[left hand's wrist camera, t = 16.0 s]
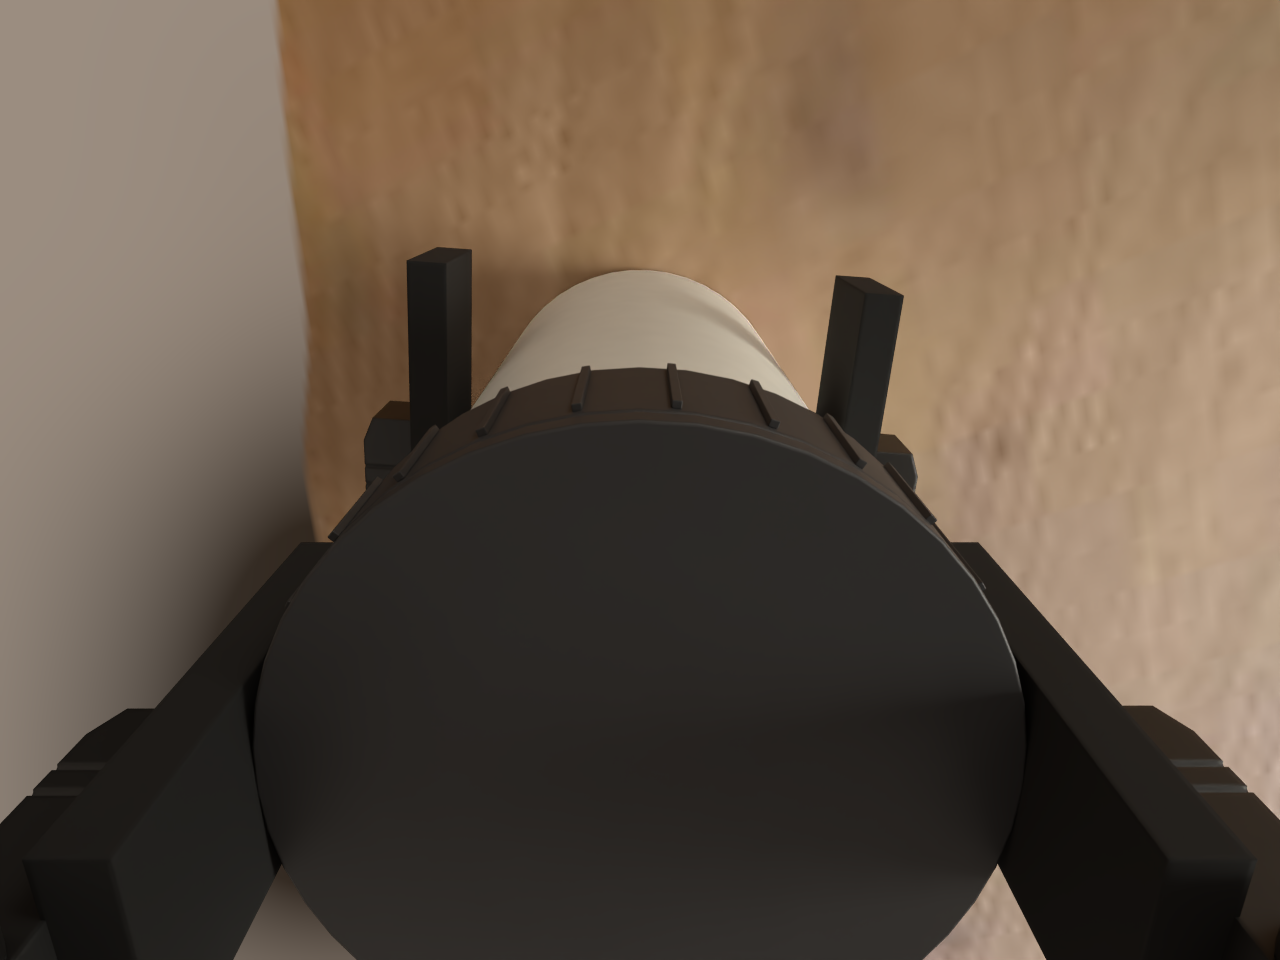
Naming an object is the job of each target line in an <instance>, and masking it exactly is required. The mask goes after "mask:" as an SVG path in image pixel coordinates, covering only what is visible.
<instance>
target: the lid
mask: <svg viewBox="0 0 1280 960" xmlns="http://www.w3.org/2000/svg"><path fill="white" fill-rule="evenodd" d="M936 521H937V519H936V518H935V517H934V516H933V514H932V513H931V512H930V511H929V509H928V508H927V507H926V506H925V505H924V503H923V502H922V501H921V500H920V498H919V497H918V496H917V495H916V494H915V492H914V491H913V490H912V489H911V488H910V486H909V485H908V484H907V483H906V481H905V480H904V479H903V478H902V477H901V475H900V474H899V473H898V472H897V471H896V469H895V468H894V467H893V466H892V465H891V464H890V463H889V462H887V463H886V464H885V465H884V466H883V465H882V464H881V463H880V462H879V461H878V460H877V459H876V458H875V457H873V456H872V455H871V454H870V453H869V452H868V451H867V450H866V449H865V448H863V447H862V446H861V445H860V444H859V443H858V442H857V441H856V440H855V439H854V438H852V437H851V436H849V435H848V434H846V433H845V432H844V431H843V430H842V428H841V427H840V426H839V424H838V423H837V422H836V420H835V419H834V418H833V417H832V416H831V415H829V414H828V413H826V415H825V416H824V417H823V418H822V417H821V416H820V415H818V414H816V413H814V412H812V411H810V410H808V409H806V408H804V407H802V406H800V405H798V404H796V403H794V402H792V401H790V400H788V399H786V398H784V397H782V396H780V395H778V394H776V393H773V392H770V391H767V390H764V389H763V388H762V386H761V385H760V383H759V381H756V380H753V379H751V381H750V383H749V384H746V383H743V382H740V381H737V380H734V379H730V378H724V377H719V376H714V375H709V374H704V373H699V372H694V371H688V370H677V367H676V364H673V363H667V369H661V368H645V367H634V368H619V369H603V370H591V368H590V366H582V367H581V371H580V373H576V374H571V375H566V376H560V377H555V378H550V379H546V380H543V381H540V382H537V383H534V384H531V385H528V386H525V387H522V388H519V389H516V390H513V391H510V390H509V388H508V386H507V387H504V388H502V389H500V391H499V392H498V394H497V395H496V397H495V398H494V399H492V400H490V401H488V402H485V403H483V404H481V405H479V406H477V407H475V408H473V409H471V410H469V411H467V412H465V413H463V414H461V415H460V416H459V417H457V418H456V419H454V420H453V421H451V422H450V423H448V424H447V425H445V426H444V427H442V428H441V429H439V428H438V427H437V426H436V425H434V426H432V427H431V428H429V430H428V431H427V432H426V434H425V435H424V436H423V437H422V439H421V440H420V441H419V443H418V444H417V445H416V446H415V448H414V449H413V450H412V452H411V453H409V454H408V455H407V456H406V457H405V458H404V459H403V460H402V461H401V462H400V463H398V464H397V465H396V466H395V467H394V468H393V469H392V471H391V472H390V473H389V474H388V475H387V477H386V478H385V479H384V480H382V479H381V478H379V477H377V478H376V479H375V480H374V481H373V482H372V484H371V485H370V486H369V487H368V489H367V490H366V491H365V492H364V493H363V495H362V496H361V497H360V498H359V499H358V501H357V502H356V503H355V504H354V506H353V507H352V508H351V509H350V510H349V512H348V513H347V514H346V515H345V516H344V518H343V519H342V520H341V521H340V523H339V524H338V525H337V526H336V527H335V529H334V530H333V531H332V532H331V533H330V535H329V536H328V538H329V539H330V540H332V541H333V544H332V545H331V546H330V547H329V549H328V550H327V551H326V552H325V554H324V555H323V556H322V557H321V559H320V560H319V561H318V563H317V564H316V565H315V566H314V567H313V569H312V570H311V571H310V572H309V574H308V575H307V576H306V578H305V579H304V581H303V582H302V583H301V585H300V586H299V587H298V588H297V590H296V591H295V592H294V593H293V595H292V596H291V597H290V598H289V600H288V601H287V603H286V605H285V608H286V611H285V613H284V614H283V616H282V618H281V620H280V622H279V625H278V627H277V630H276V632H275V635H274V637H273V640H272V642H271V645H270V647H269V650H268V652H267V655H266V658H265V660H264V664H263V668H262V673H261V678H260V682H259V687H258V691H257V696H256V700H255V708H254V726H253V744H252V749H253V759H254V768H255V778H256V785H257V791H258V796H259V800H260V804H261V808H262V811H263V815H264V819H265V823H266V827H267V830H268V833H269V835H270V837H271V839H272V842H273V844H274V846H275V849H276V851H277V853H278V856H279V858H280V860H281V863H282V865H283V867H284V869H285V871H286V872H287V874H288V876H289V877H290V879H291V880H292V882H293V884H294V885H295V887H296V889H297V890H298V892H299V894H300V895H301V897H302V899H303V900H304V902H305V903H306V905H307V906H308V907H309V908H310V910H311V911H312V912H313V913H314V914H315V916H316V917H317V918H318V919H319V921H320V922H321V923H322V924H323V926H324V927H325V928H326V929H327V931H328V932H329V933H330V934H331V935H332V936H333V937H334V938H335V939H336V940H337V941H338V942H339V943H340V944H341V945H342V946H343V947H344V948H345V949H346V950H347V951H348V952H349V953H350V954H351V955H352V956H353V957H355V958H356V959H357V960H923V959H924V958H925V957H926V956H927V955H928V954H929V953H930V952H931V951H932V950H933V949H934V948H935V947H936V946H937V945H938V944H939V943H940V942H942V941H943V940H944V939H945V938H946V937H947V936H948V935H949V934H950V932H951V931H952V930H953V929H954V927H955V926H956V925H957V924H958V922H959V921H960V920H961V919H962V917H963V916H964V915H965V914H966V912H967V911H968V910H969V909H970V907H971V906H972V905H973V904H974V903H975V901H976V899H977V898H978V896H979V894H980V893H981V891H982V889H983V888H984V886H985V884H986V883H987V881H988V879H989V878H990V876H991V875H992V873H993V871H994V870H995V868H996V866H997V864H998V861H999V859H1000V857H1001V854H1002V852H1003V850H1004V847H1005V845H1006V843H1007V840H1008V838H1009V836H1010V833H1011V831H1012V828H1013V825H1014V821H1015V817H1016V813H1017V809H1018V806H1019V802H1020V797H1021V792H1022V786H1023V780H1024V773H1025V763H1026V754H1027V734H1026V717H1025V702H1024V697H1023V693H1022V688H1021V684H1020V679H1019V675H1018V671H1017V666H1016V662H1015V658H1014V656H1013V653H1012V651H1011V648H1010V646H1009V643H1008V641H1007V638H1006V636H1005V633H1004V631H1003V628H1002V626H1001V623H1000V621H999V618H998V616H997V615H996V613H995V611H994V610H993V608H992V606H991V605H990V603H989V601H988V600H987V598H986V596H985V595H984V593H983V590H985V589H986V587H985V586H984V584H983V582H982V581H981V579H980V578H979V577H978V576H977V575H976V573H975V572H974V571H973V570H972V568H971V567H970V566H969V565H968V563H967V562H966V561H965V560H964V558H963V557H962V556H961V555H960V554H959V552H958V551H957V550H956V549H955V547H954V546H953V545H952V544H951V542H950V541H949V540H948V539H947V537H946V536H945V535H944V534H943V533H942V531H941V530H940V529H939V528H938V526H937V525H936V524H935V522H936Z"/></svg>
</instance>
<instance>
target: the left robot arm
mask: <svg viewBox="0 0 1280 960" xmlns="http://www.w3.org/2000/svg"><path fill="white" fill-rule="evenodd" d="M332 544H333V542H302V543H300V544H299V545H298V546H297V548H296V549H295V550H294V551H293V552H292V553H291V554H290V555H289V557H288V558H287V559H286V560H285V561H284V562H283V564H282V565H281V566H280V567H279V568H278V569H277V570H276V571H275V573H274V574H273V575H272V576H271V577H270V578H269V579H268V580H267V582H266V583H265V584H264V585H263V586H262V587H261V588H260V590H259V591H258V592H257V593H256V594H255V595H254V596H253V598H252V599H251V600H250V601H249V602H248V603H247V604H246V605H245V607H244V608H243V609H242V610H241V611H240V612H239V613H238V615H237V616H236V617H235V618H234V619H233V620H232V621H231V623H230V624H229V625H228V626H227V627H226V628H225V629H224V630H223V632H222V633H221V634H220V635H219V636H218V637H217V639H216V640H215V641H214V642H213V643H212V644H211V645H210V646H209V648H208V649H207V650H206V651H205V652H204V653H203V654H202V655H201V657H200V658H199V659H198V660H197V661H196V662H195V663H194V665H193V666H192V667H191V668H190V669H189V670H188V671H187V673H186V674H185V675H184V676H183V677H182V678H181V679H180V681H179V682H178V683H177V684H176V685H175V686H174V687H173V688H172V690H171V691H170V692H169V693H168V694H167V695H166V696H165V698H164V699H163V700H162V701H161V702H160V703H159V704H158V705H157V707H156V708H155V709H126V710H124V711H123V712H121V713H120V714H118V715H116V716H115V717H113V718H112V719H110V720H108V721H107V722H105V723H104V724H102V725H100V726H99V727H97V728H96V729H94V730H92V731H91V732H89V733H87V734H86V735H85V736H84V737H83V738H82V739H81V740H80V741H79V742H78V743H77V744H76V745H75V747H73V749H72V750H71V751H70V752H69V753H68V754H67V755H66V756H65V757H64V758H63V759H62V760H61V761H60V762H59V763H58V764H57V770H52V771H51V772H49V774H48V775H47V776H46V777H45V778H44V779H43V780H42V781H41V782H40V783H39V784H38V785H37V786H36V787H35V788H34V789H33V795H32V796H26V797H25V799H24V800H23V801H22V802H21V803H20V804H19V805H18V806H17V807H16V808H15V809H14V810H13V811H12V812H11V813H10V814H9V815H8V816H7V817H6V818H5V819H4V820H3V821H2V822H1V824H0V960H233V959H234V957H235V955H236V953H237V951H238V949H239V947H240V945H241V943H242V941H243V939H244V937H245V935H246V933H247V931H248V929H249V927H250V925H251V923H252V921H253V919H254V917H255V915H256V913H257V912H258V910H259V908H260V906H261V904H262V902H263V900H264V898H265V896H266V894H267V892H268V890H269V888H270V886H271V884H272V882H273V880H274V878H275V876H276V874H277V872H278V870H279V868H280V866H281V864H282V863H281V860H280V858H279V856H278V853H277V851H276V849H275V846H274V844H273V842H272V839H271V837H270V835H269V833H268V830H267V827H266V823H265V819H264V815H263V811H262V808H261V804H260V800H259V796H258V791H257V785H256V778H255V768H254V759H253V749H252V744H253V726H254V708H255V700H256V696H257V691H258V687H259V682H260V678H261V673H262V668H263V664H264V660H265V658H266V655H267V652H268V650H269V647H270V645H271V642H272V640H273V637H274V635H275V632H276V630H277V627H278V625H279V622H280V620H281V618H282V616H283V614H284V613H285V611H286V608H285V605H286V603H287V601H288V600H289V598H290V597H291V596H292V595H293V593H294V592H295V591H296V590H297V588H298V587H299V586H300V585H301V583H302V582H303V581H304V579H305V578H306V576H307V575H308V574H309V572H310V571H311V570H312V569H313V567H314V566H315V565H316V564H317V563H318V561H319V560H320V559H321V557H322V556H323V555H324V554H325V552H326V551H327V550H328V549H329V547H330V546H331V545H332ZM951 544H952V545H953V546H954V547H955V549H956V550H957V551H958V552H959V554H960V555H961V556H962V557H963V558H964V560H965V561H966V562H967V563H968V565H969V566H970V567H971V568H972V570H973V571H974V572H975V573H976V575H977V576H978V577H979V578H980V579H981V581H982V582H983V584H984V586H985V587H986V589H985V590H983V593H984V595H985V596H986V598H987V600H988V601H989V603H990V605H991V606H992V608H993V610H994V611H995V613H996V615H997V616H998V618H999V621H1000V623H1001V626H1002V628H1003V631H1004V633H1005V636H1006V638H1007V641H1008V643H1009V646H1010V648H1011V651H1012V653H1013V656H1014V658H1015V662H1016V666H1017V671H1018V675H1019V679H1020V684H1021V688H1022V693H1023V697H1024V702H1025V717H1026V734H1027V754H1026V763H1025V773H1024V780H1023V786H1022V792H1021V797H1020V802H1019V806H1018V809H1017V813H1016V817H1015V821H1014V825H1013V828H1012V831H1011V833H1010V836H1009V838H1008V840H1007V843H1006V845H1005V847H1004V850H1003V852H1002V854H1001V857H1000V859H999V861H998V865H999V867H1000V869H1001V871H1002V873H1003V875H1004V877H1005V879H1006V881H1007V883H1008V885H1009V887H1010V889H1011V891H1012V893H1013V895H1014V897H1015V899H1016V901H1017V903H1018V905H1019V907H1020V909H1021V911H1022V913H1023V915H1024V917H1025V919H1026V921H1027V922H1028V924H1029V926H1030V928H1031V930H1032V932H1033V934H1034V936H1035V938H1036V940H1037V942H1038V944H1039V946H1040V948H1041V950H1042V952H1043V954H1044V956H1045V958H1046V960H1280V820H1279V819H1278V818H1277V817H1276V816H1275V815H1274V814H1273V813H1272V812H1271V811H1270V810H1269V808H1268V807H1267V806H1266V805H1265V804H1264V803H1263V802H1262V801H1261V800H1260V799H1259V798H1258V797H1257V796H1256V795H1255V794H1254V793H1248V791H1247V786H1246V785H1245V784H1244V783H1243V782H1242V781H1241V779H1240V778H1239V777H1238V776H1237V775H1236V774H1235V773H1234V772H1233V771H1232V770H1231V769H1230V768H1229V767H1224V766H1223V761H1222V760H1221V759H1220V758H1219V757H1218V756H1217V755H1216V754H1215V753H1214V752H1213V751H1212V749H1211V748H1210V747H1209V746H1208V745H1207V744H1206V743H1205V742H1204V741H1203V740H1202V739H1201V738H1200V737H1199V736H1198V735H1197V734H1196V733H1195V732H1194V731H1193V730H1191V729H1189V728H1188V727H1186V726H1185V725H1183V724H1181V723H1180V722H1178V721H1176V720H1175V719H1173V718H1172V717H1170V716H1168V715H1167V714H1165V713H1164V712H1162V711H1160V710H1159V709H1157V708H1155V707H1154V706H1122V705H1121V704H1120V703H1119V702H1118V700H1117V699H1116V698H1115V697H1114V696H1113V695H1112V694H1111V693H1110V691H1109V690H1108V689H1107V688H1106V687H1105V686H1104V685H1103V683H1102V682H1101V681H1100V680H1099V679H1098V678H1097V677H1096V675H1095V674H1094V673H1093V672H1092V671H1091V670H1090V669H1089V668H1088V666H1087V665H1086V664H1085V663H1084V662H1083V661H1082V660H1081V658H1080V657H1079V656H1078V655H1077V654H1076V653H1075V652H1074V650H1073V649H1072V648H1071V647H1070V646H1069V645H1068V644H1067V643H1066V641H1065V640H1064V639H1063V638H1062V637H1061V636H1060V635H1059V633H1058V632H1057V631H1056V630H1055V629H1054V628H1053V627H1052V625H1051V624H1050V623H1049V622H1048V621H1047V620H1046V619H1045V618H1044V616H1043V615H1042V614H1041V613H1040V612H1039V611H1038V610H1037V608H1036V607H1035V606H1034V605H1033V604H1032V603H1031V602H1030V600H1029V599H1028V598H1027V597H1026V596H1025V595H1024V594H1023V593H1022V591H1021V590H1020V589H1019V588H1018V587H1017V586H1016V585H1015V583H1014V582H1013V581H1012V580H1011V579H1010V578H1009V577H1008V575H1007V574H1006V573H1005V572H1004V571H1003V570H1002V569H1001V568H1000V566H999V565H998V564H997V563H996V562H995V561H994V560H993V558H992V557H991V556H990V555H989V554H988V553H987V552H986V550H985V549H984V548H983V547H982V546H981V545H980V544H979V543H978V542H951Z"/></svg>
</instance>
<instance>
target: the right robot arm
mask: <svg viewBox="0 0 1280 960" xmlns="http://www.w3.org/2000/svg"><path fill="white" fill-rule="evenodd" d="M903 298H904V296H903V295H902V294H900V293H898V292H896V291H894V290H892V289H890V288H888V287H886V286H884V285H882V284H880V283H878V282H877V281H875V280H873V279H871V278H865V277H851V276H837V275H836V278H835V285H834V292H833V299H832V306H831V313H830V320H829V326H828V333H827V340H826V347H825V354H824V361H823V368H822V375H821V382H820V389H819V396H818V403H817V410H816V414H818V415H820V416H821V417H822V418H823V417H824V416H825V415H826V413H828V414H829V415H831V416H832V417H833V418H834V419H835V420H836V422H837V423H838V424H839V426H840V427H841V428H842V430H843V431H844V432H845V433H846V434H848V435H849V436H851V437H852V438H854V439H855V440H856V441H857V442H858V443H859V444H860V445H861V446H862V447H863V448H865V449H866V450H867V451H868V452H869V453H870V454H871V455H872V456H873V457H875V458H876V459H877V460H878V461H879V462H880V463H881V464H882V465H883V466H884V465H885V464H886V463H887V462H889V463H890V464H891V465H892V466H893V467H894V468H895V469H896V471H897V472H898V473H899V474H900V475H901V477H902V478H903V479H904V480H905V481H906V483H907V484H908V485H909V486H910V488H911V489H912V490H913V491H914V492H915V488H916V483H917V478H918V476H917V472H916V467H915V463H914V458H913V454H912V453H911V452H910V451H909V450H908V449H907V448H906V447H905V446H904V444H903V443H902V442H901V441H900V440H899V439H898V438H897V437H896V436H895V435H889V434H880V432H881V426H882V420H883V414H884V409H885V403H886V397H887V391H888V385H889V380H890V374H891V368H892V362H893V356H894V350H895V345H896V339H897V333H898V327H899V321H900V315H901V310H902V304H903ZM407 299H408V344H409V390H410V402H401V401H390V402H389V403H387V404H386V405H385V406H384V407H383V408H382V409H381V410H380V411H379V412H378V413H377V414H376V415H375V416H374V417H373V418H372V421H371V423H370V426H369V428H368V431H367V433H366V436H365V439H364V455H365V464H366V467H365V479H366V490H367V489H368V487H369V486H370V485H371V484H372V482H373V481H374V480H375V479H376V478H377V477H379V478H381V479H382V480H384V479H385V478H386V477H387V475H388V474H389V473H390V472H391V471H392V469H393V468H394V467H395V466H396V465H397V464H398V463H400V462H401V461H402V460H403V459H404V458H405V457H406V456H407V455H408V454H409V453H411V452H412V450H413V449H414V448H415V446H416V445H417V444H418V443H419V441H420V440H421V439H422V437H423V436H424V435H425V434H426V432H427V431H428V430H429V428H431V427H432V426H434V425H436V426H437V427H438V428H439V429H441V428H442V427H444V426H445V425H447V424H448V423H450V422H451V421H453V420H454V419H456V418H457V417H459V416H460V415H461V414H463V413H465V412H467V411H469V410H471V315H472V250H470V249H456V248H442V247H437V248H434V249H432V250H430V251H428V252H425V253H423V254H421V255H418V256H416V257H414V258H412V259H409V260H407Z"/></svg>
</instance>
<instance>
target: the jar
mask: <svg viewBox="0 0 1280 960" xmlns="http://www.w3.org/2000/svg"><path fill="white" fill-rule="evenodd" d="M667 363H673V364H676V367H677V370H688V371H694V372H699V373H704V374H709V375H714V376H719V377H724V378H730V379H734V380H737V381H740V382H743V383H746V384H749V383H750V381H751V379H753V380H756V381H759V383H760V385H761V386H762V388H763V389H764V390H767V391H770V392H773V393H776V394H778V395H780V396H782V397H784V398H786V399H788V400H790V401H792V402H794V403H796V404H798V405H800V406H802V407H804V408H806V409H808V408H807V406H806V405H805V403H804V402H803V400H802V399H801V397H800V396H799V394H798V393H797V391H796V390H795V388H794V387H793V385H792V384H791V382H790V381H789V379H788V378H787V376H786V375H785V373H784V372H783V370H782V369H781V367H780V366H779V364H778V363H777V362H776V360H775V359H774V357H773V356H772V354H771V353H770V351H769V350H768V348H767V347H766V345H765V344H764V342H763V341H762V339H761V338H760V336H759V335H758V333H757V332H756V331H755V329H754V328H753V326H752V325H751V324H750V322H749V321H748V320H747V319H746V317H745V316H744V315H743V314H742V313H741V312H740V311H739V310H738V309H737V308H736V307H735V306H734V305H733V304H731V303H730V302H729V301H728V300H726V299H725V298H724V297H722V296H721V295H720V294H718V293H717V292H715V291H713V290H711V289H710V288H708V287H706V286H705V285H703V284H700V283H698V282H696V281H693V280H691V279H689V278H686V277H682V276H679V275H675V274H671V273H667V272H660V271H652V270H627V271H620V272H612V273H608V274H604V275H601V276H597V277H593V278H591V279H588V280H586V281H584V282H581V283H579V284H577V285H575V286H573V287H571V288H570V289H568V290H566V291H565V292H563V293H561V294H560V295H558V296H557V297H556V298H554V299H553V300H552V301H551V302H549V303H548V304H547V305H546V306H544V307H543V309H542V310H541V311H540V312H539V313H538V314H537V315H536V316H535V317H534V318H533V319H532V320H531V322H530V323H529V324H528V326H527V327H526V328H525V330H524V331H523V333H522V334H521V335H520V337H519V338H518V340H517V341H516V343H515V344H514V346H513V347H512V349H511V350H510V352H509V353H508V355H507V356H506V358H505V359H504V361H503V362H502V364H501V365H500V367H499V368H498V370H497V371H496V373H495V374H494V376H493V377H492V379H491V380H490V382H489V383H488V384H487V386H486V387H485V389H484V390H483V392H482V393H481V395H480V396H479V398H478V399H477V401H476V402H475V404H474V405H473V407H472V408H471V409H473V408H475V407H477V406H479V405H481V404H483V403H485V402H488V401H490V400H492V399H494V398H495V397H496V395H497V394H498V392H499V391H500V389H502V388H504V387H507V386H508V388H509V390H510V391H513V390H516V389H519V388H522V387H525V386H528V385H531V384H534V383H537V382H540V381H543V380H546V379H550V378H555V377H560V376H566V375H571V374H576V373H580V371H581V367H582V366H590V368H591V370H603V369H619V368H634V367H645V368H661V369H667ZM808 410H809V409H808Z"/></svg>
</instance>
